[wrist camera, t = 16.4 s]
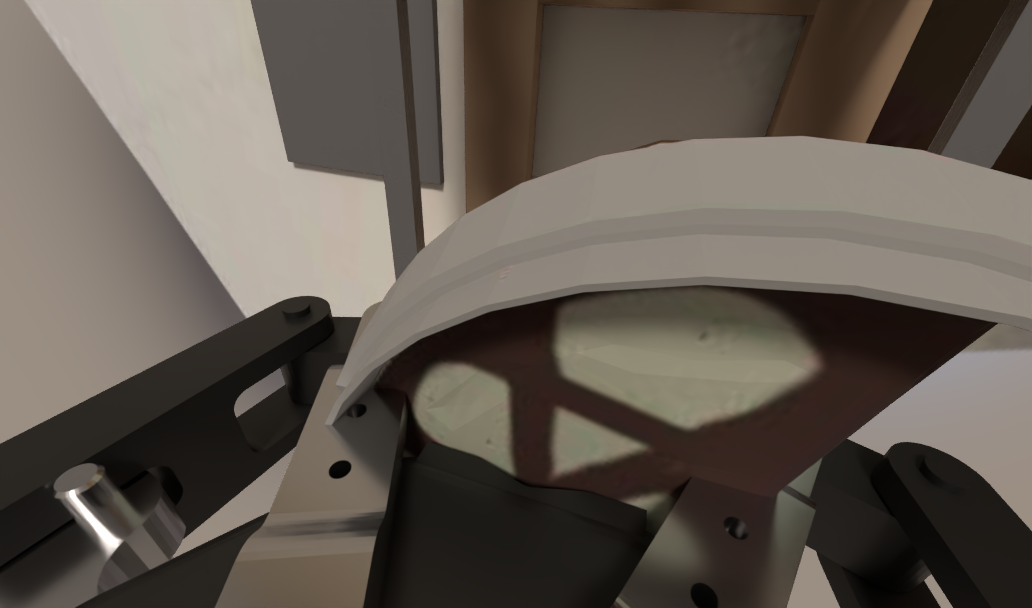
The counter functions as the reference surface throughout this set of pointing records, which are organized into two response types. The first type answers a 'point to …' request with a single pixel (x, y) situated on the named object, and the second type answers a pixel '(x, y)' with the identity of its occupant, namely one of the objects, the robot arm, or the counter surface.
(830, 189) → the food container
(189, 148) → the counter surface
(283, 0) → the charcoal mat
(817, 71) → the wooden base board
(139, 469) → the robot arm
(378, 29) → the cover rails
